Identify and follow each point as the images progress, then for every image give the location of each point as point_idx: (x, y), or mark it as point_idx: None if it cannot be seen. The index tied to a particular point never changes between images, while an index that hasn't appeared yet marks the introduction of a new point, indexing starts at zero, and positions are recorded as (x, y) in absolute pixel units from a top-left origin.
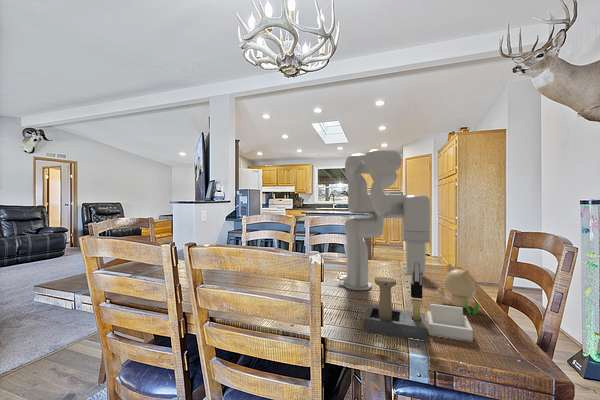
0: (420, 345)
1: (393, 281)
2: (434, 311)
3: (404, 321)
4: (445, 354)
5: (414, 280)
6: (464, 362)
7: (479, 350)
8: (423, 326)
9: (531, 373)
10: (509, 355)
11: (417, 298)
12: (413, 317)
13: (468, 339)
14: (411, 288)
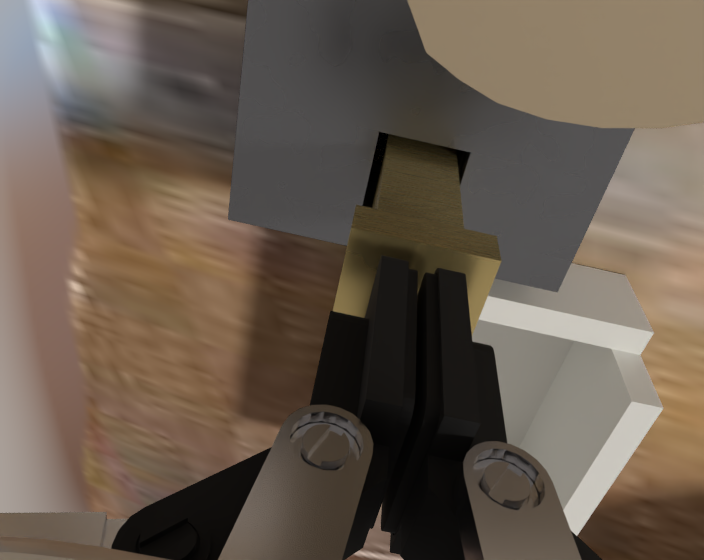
0: (195, 108)
1: (444, 6)
2: (600, 380)
3: (330, 41)
4: (128, 236)
5: (119, 533)
6: (78, 302)
7: (238, 413)
8: (250, 202)
9: (102, 497)
10: None
11: None
12: (385, 159)
13: None
14: (373, 348)
